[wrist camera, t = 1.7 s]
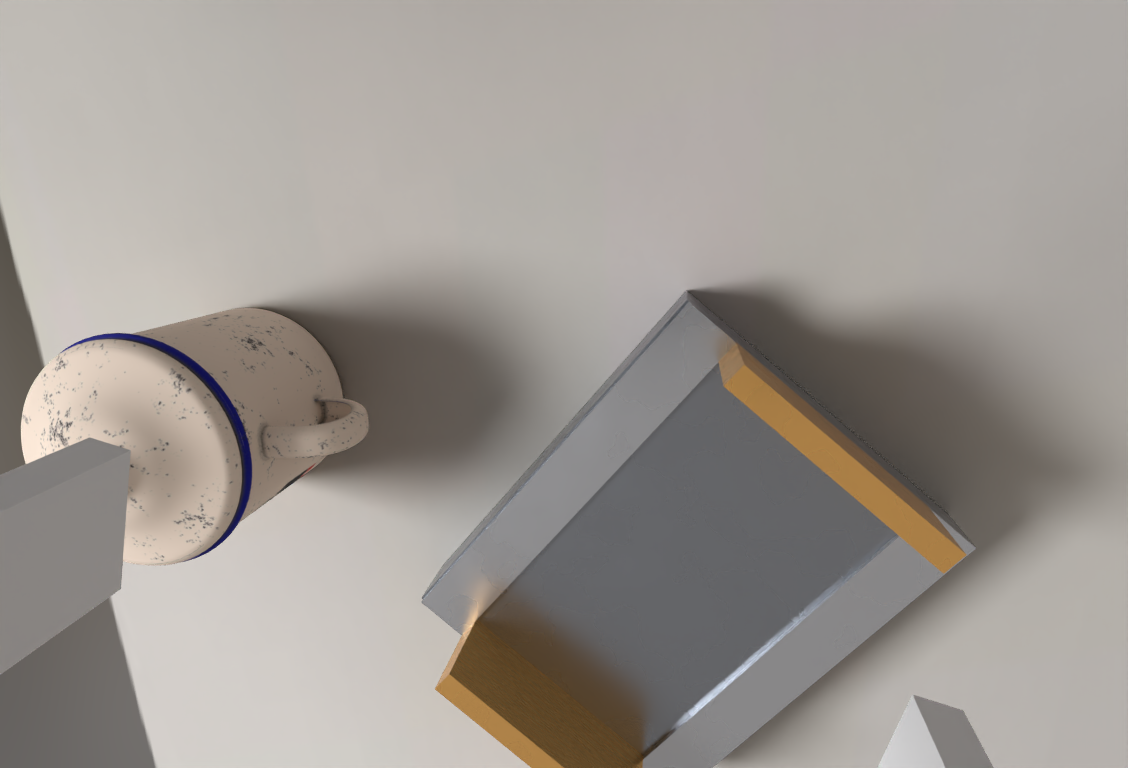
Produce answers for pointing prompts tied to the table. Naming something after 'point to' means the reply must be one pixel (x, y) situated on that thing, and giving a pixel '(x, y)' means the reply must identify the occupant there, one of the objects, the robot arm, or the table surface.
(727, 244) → the table surface
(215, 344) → the teacup with lid
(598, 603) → the grey tray
